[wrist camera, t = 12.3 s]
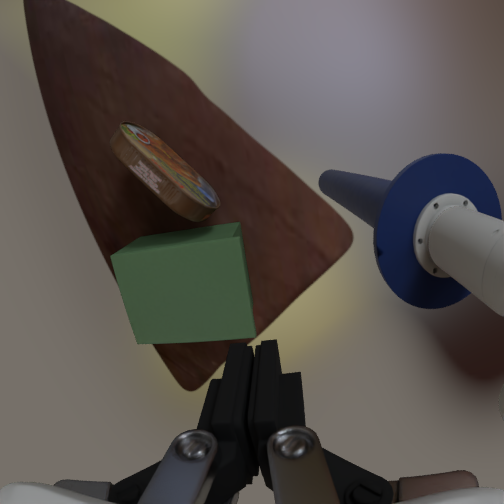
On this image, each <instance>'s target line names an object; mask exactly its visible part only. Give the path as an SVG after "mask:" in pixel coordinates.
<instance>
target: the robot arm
mask: <svg viewBox="0 0 504 504" xmlns="http://www.w3.org/2000/svg"><path fill="white" fill-rule="evenodd" d="M418 240H419V241H418ZM413 246H414V252H415V255H416V258H417V260H418V262H419V264H420V265H421V266H422V267H423V268H424V269H425V270H426V271H427V272H428V273H430V274H431V275H433V276H436V277H440V278H447V277H452V278H454V279H455V280H456V281H457V282H459V283H460V284H461V285H463V286H464V287H465V288H466V289H468V290H469V291H470V292H471V293H473V294H474V295H475V296H476V297H478V298H479V299H480V300H481V301H483V302H484V303H485V304H486V305H488V306H489V307H490V308H491V309H492V310H494V311H495V312H496V313H498V314H499V315H501V316H503V317H504V221H502V220H499V219H496V218H493V217H491V216H488V215H485V214H482V213H479V212H478V211H477V209H476V208H475V206H474V205H473V203H472V202H471V201H470V200H469V199H467V198H465V197H464V196H461V195H458V194H453V193H446V194H442V195H439V196H437V197H435V198H434V199H432V200H431V201H430V202H429V203H428V204H426V206H425V207H424V208H423V210H422V211H421V213H420V215H419V217H418V219H417V221H416V224H415V228H414V233H413ZM499 411H500V414H501V416H502V418H503V420H504V385H503V387H502V389H501V392H500V396H499ZM259 466H260V469H261V473H262V476H263V477H264V481H265V484H266V486H267V487H268V488H269V489H271V490H272V491H274V498H275V504H504V490H502V489H498V488H489V487H479V484H478V481H477V478H476V476H474V475H473V474H472V473H471V472H468V471H465V470H463V471H462V470H460V471H459V470H457V471H452V472H446V473H439V474H431V475H424V476H414V477H402V478H399V480H398V481H387V480H385V479H384V478H382V477H380V476H378V475H375V474H373V473H371V472H369V471H367V470H365V469H363V468H361V467H359V466H357V465H355V464H353V463H351V462H348V461H347V460H345V459H343V458H341V457H339V456H337V455H335V454H333V453H331V452H329V451H327V450H326V449H324V448H322V447H321V444H320V441H319V438H318V436H317V434H316V433H315V432H314V431H313V430H311V429H310V428H308V427H306V425H305V413H304V400H303V390H302V380H301V372H295V373H287V374H282V371H281V365H280V357H279V351H278V344H277V340H266V341H261V345H257V346H256V349H255V357H254V353H253V348H252V346H247V344H246V343H235V344H230V347H229V351H228V355H227V359H226V363H225V367H224V372H223V376H222V379H212V380H211V382H210V385H209V388H208V391H207V395H206V398H205V403H204V406H203V409H202V412H201V416H200V419H199V423H198V426H197V429H193V430H188V431H185V432H183V433H181V434H180V435H178V436H177V437H176V438H175V439H174V440H173V442H172V443H171V445H170V446H169V448H168V450H167V452H166V454H165V455H164V457H163V459H162V460H161V461H159V462H157V463H155V464H154V465H151V466H150V467H148V468H146V469H144V470H142V471H140V472H138V473H136V474H134V475H132V476H130V477H128V478H125V479H123V480H121V481H120V482H118V483H116V484H115V485H113V484H112V483H111V482H96V481H79V480H60V481H58V482H56V483H55V484H54V485H49V484H44V483H36V482H16V483H10V484H8V485H6V486H4V487H3V488H2V489H0V504H237V501H238V498H239V491H240V490H241V489H243V488H244V487H246V484H252V480H253V476H258V474H259Z"/></svg>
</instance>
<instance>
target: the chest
mask: <svg viewBox="0 0 504 504" xmlns="http://www.w3.org/2000/svg"><path fill="white" fill-rule="evenodd" d="M238 236H240V238H241V244H242V250H243V256H244V263H245V269H246V275H247V281H248V287H249V293H250V299H251V305H252V309H253V299H252V293H251V287H250V281H249V275H248V269H247V262H246V256H245V250H244V244H243V238H242V231H241V225H240V222H236V223H229V224H221V225H215V226H208V227H201V228H194V229H187V230H181V231H174V232H168V233H162V234H155V235H149V236H143V237H139V238H138V239H136V240H135V241H133V242H132V243H130V244H128V245H127V246H125V247H124V248H122V249H121V250H119V251H118V252H116V253H115V254H118V253H125V252H132V251H139V250H145V249H152V248H159V247H166V246H173V245H180V244H187V243H194V242H201V241H209V240H216V239H223V238H231V237H238Z"/></svg>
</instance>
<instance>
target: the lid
mask: <svg viewBox="0 0 504 504" xmlns="http://www.w3.org/2000/svg"><path fill="white" fill-rule="evenodd" d="M111 260H112V264H113V268H114V271H115V275H116V279H117V282H118V286H119V289H120V292H121V296H122V299H123V302H124V305H125V308H126V312H127V314H128V317H129V320H130V324H131V327H132V329H133V332H134V335H135V338H136V341H137V344H162V343H185V342H203V341H218V340H231V339H243V338H254V337H256V328H255V323H254V317H253V311H252V305H251V299H250V293H249V287H248V281H247V275H246V269H245V263H244V256H243V250H242V244H241V238H240V236H238V237H231V238H223V239H216V240H209V241H201V242H194V243H187V244H180V245H173V246H166V247H159V248H152V249H145V250H139V251H132V252H125V253H118V254H113V255H112V256H111Z"/></svg>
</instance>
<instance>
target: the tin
mask: <svg viewBox="0 0 504 504" xmlns="http://www.w3.org/2000/svg"><path fill="white" fill-rule="evenodd" d="M110 147H111V150H112V151H113V153H114V155H115V156H116V157H117V158H118V160H119V161H120V162H121V163H122V164H123V165H124V166H125V167H127V169H128V170H129V171H131V172H132V173H133V174H134V175H135V176H136V177H137V178H138V179H139V180H140V181H141V182H142V183H143V184H144V185H145V186H146V187H147V188H148V189H149V190H151V191H152V192H153V193H154V194H155V195H156V196H157V197H158V198H159V199H160V200H161V201H162V202H163V203H164V204H166V205H167V206H168V207H169V208H170V209H171V210H173V211H174V212H176V213H177V214H179V215H180V216H182V217H184V218H186V219H188V220H191V221H194V222H201V221H204V220H206V219H207V218H208V217H209V216H210V215H211V214H212V213H213V212H214V211H215V210H216V209H218V208H219V207H220V201H219V198H218V196H217V194H216V193H215V191H214V190H213V188H212V187H211V186H210V185H209V184H208V183H207V182H206V181H205V180H204V179H203V178H202V177H201V176H200V175H199V174H198V173H197V172H196V171H195V170H194V169H193V168H192V167H190V166H189V165H188V164H187V163H186V162H185V161H184V160H183V159H182V158H181V157H180V156H179V155H177V154H176V153H175V152H174V151H173V150H172V149H171V148H170V147H169V146H168V145H167V144H165V143H164V142H163V141H162V140H161V139H160V138H159V137H157V136H156V135H155V134H153V133H152V132H150V131H149V130H147V129H146V128H144V127H142V126H140V125H138V124H135V123H132V122H129V121H123V122H121V123H120V126H119V127H118V129H117V130H116V132H115V133H114V135H113V136H112V138H111V140H110Z"/></svg>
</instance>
